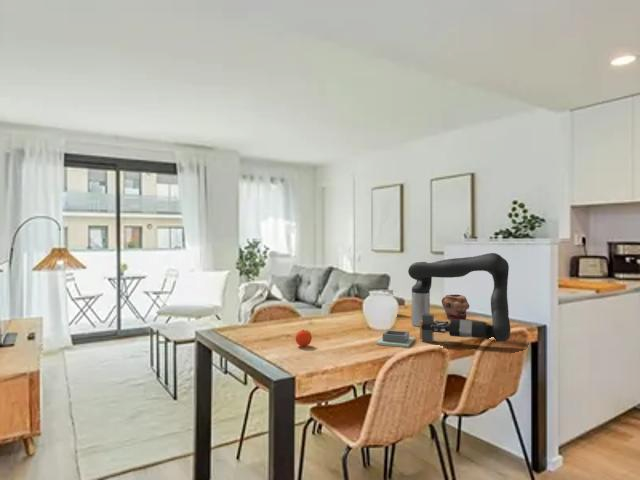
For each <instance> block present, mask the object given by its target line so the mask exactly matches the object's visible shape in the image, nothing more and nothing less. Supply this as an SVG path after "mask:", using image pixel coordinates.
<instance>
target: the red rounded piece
mask: <svg viewBox="0 0 640 480" xmlns="http://www.w3.org/2000/svg"><path fill="white" fill-rule="evenodd" d="M295 342H296V344H297V345H299V346H300V347H307V346H309V345H310V344H311V342H312V334H311V331H310V330H308V329H301V330H299V331H298V332H297V333H296V335H295Z"/></svg>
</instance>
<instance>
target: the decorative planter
mask: <svg viewBox="0 0 640 480" xmlns="http://www.w3.org/2000/svg"><path fill="white" fill-rule="evenodd" d="M441 305H442V308H443V310H444V312H445V315H446V319H448V320H449V321H450V319H460V320H467V310H469V308H470V304H469V302H468V300H467V297H466V296H465V295H462V294H446V295H445V296H443V297H442V298H441Z"/></svg>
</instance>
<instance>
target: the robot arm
mask: <svg viewBox="0 0 640 480" xmlns="http://www.w3.org/2000/svg"><path fill="white" fill-rule="evenodd" d="M509 266H510V265H509V263H508V260H506V258H504V257H502V256H501V255H500V254H498V253H495V252H490V253H485V254H481V255H475V256H468V257H457V258H456V257H455V258H448V259H442V260H438V261H434V262H433V261H432V262H426V261H420V262H419V261H418V262H413V263H411V265H410V266H409V267H408V270H407V272H408V275H409V277H410V278H411V279H413V280H415V281H416V282H415V284H414V285H413V286H412V287H411V325H412V326H415V327H420V321H421V320H422V315H423V314H431V313H430V309H431V308H430V307H431V306H430V304H431V303H430V301H431V299H430V296H431V295H430V293H431V288H432V282H433V280H432V279H433V278H451V279H452V278H461V277H465V276H466V275H468V274H470V273H471V272H477V271H478V272H482V271H483V272H487V273H489V274H490V275H491V276H492V280H493V291H492V293H491V296H490V312H491V316H492V318H491V321H492V324H487V323H486V322H484V321H479V320H477V321H476V320H469V319H466V320H460V319H450V320H449V321H447V320H445V321H444V320H443V321H442V320H434V325H431V326H430V325H424V324H423V325H422V330H430V331H431V332H434V333H441V334H442V333H443V334H445V333H446V332H449V333H448V334H449V336H450V337H460V338H474V339H475V338H477V339H485V340H488V339H489V338H491V337H494V338H495V339H496V341H495V342H499V343H501V342H506V341H508V340H509V339H510V337H511V330H512V329H511V324H510V323H511V322H510V316H509V315H510V314H509V311H510V310H509V301H508V280H509V269H510V268H509Z"/></svg>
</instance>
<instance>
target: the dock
mask: <svg viewBox="0 0 640 480" xmlns="http://www.w3.org/2000/svg"><path fill="white" fill-rule="evenodd" d="M415 340H416V337H415V336H410V331H402V330H390V329H389V330H388V329H387V330H386V331H384V332H383V333H382V337H380V338H379V339H378V340H377V341H376V342H375V343H376V344H375V345H376V346H387V347H397V348H398V347H399V348H409V347H411V345H412V344H413V342H414V341H415Z"/></svg>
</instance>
